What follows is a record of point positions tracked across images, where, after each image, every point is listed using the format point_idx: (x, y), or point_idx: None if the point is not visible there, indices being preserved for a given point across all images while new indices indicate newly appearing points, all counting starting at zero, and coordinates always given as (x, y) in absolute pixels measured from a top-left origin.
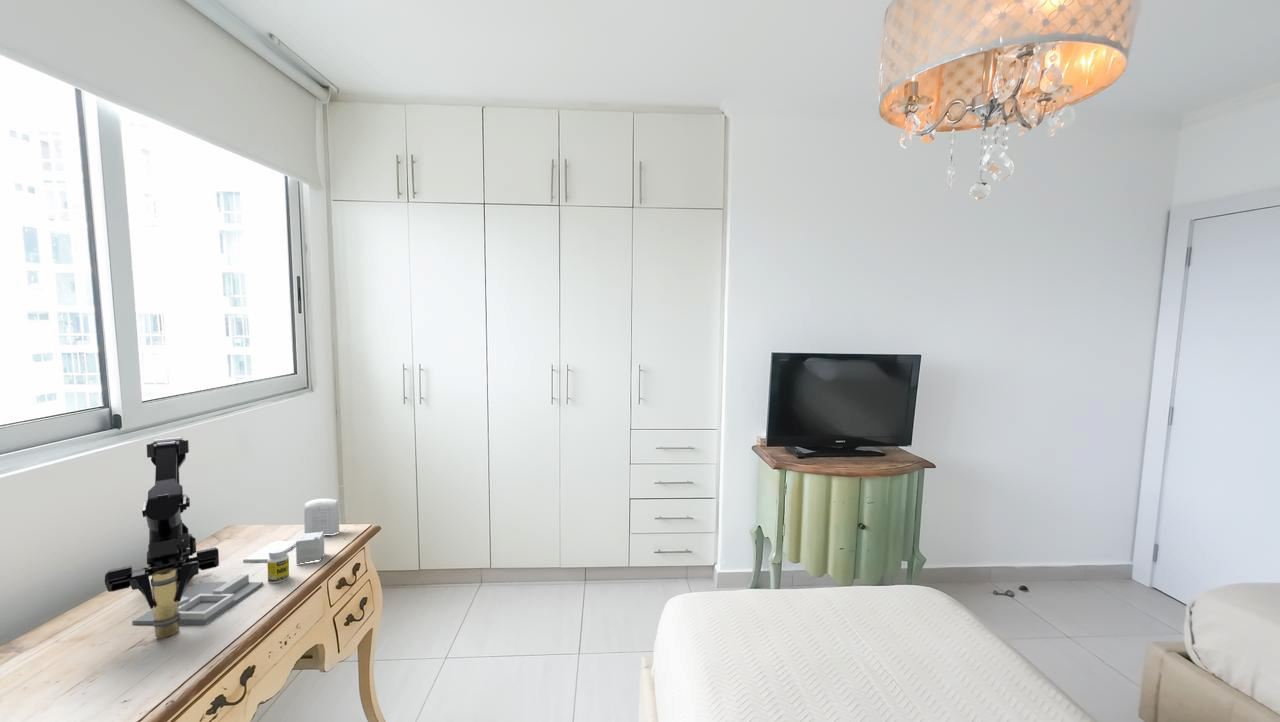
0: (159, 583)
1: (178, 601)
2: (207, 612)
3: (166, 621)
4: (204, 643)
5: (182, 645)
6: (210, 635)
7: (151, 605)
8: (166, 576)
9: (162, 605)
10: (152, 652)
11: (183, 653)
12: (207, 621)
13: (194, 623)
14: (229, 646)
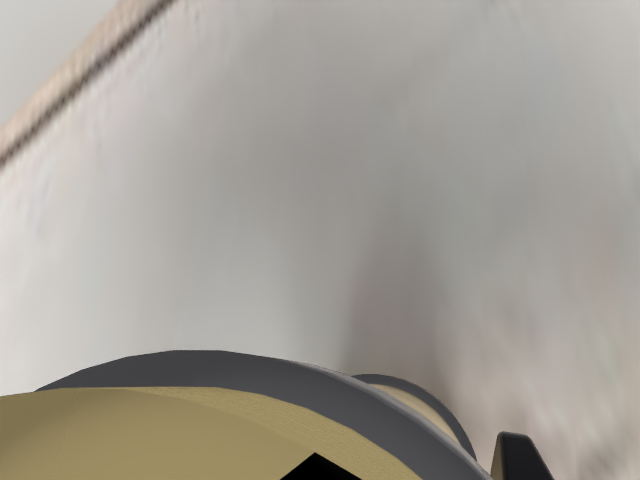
0: (382, 398)
1: None
2: None
3: (380, 380)
4: (232, 132)
5: (328, 204)
6: (188, 212)
7: (517, 443)
8: (101, 400)
9: (391, 393)
10: (482, 249)
11: (337, 94)
12: None
13: None
14: (151, 3)
